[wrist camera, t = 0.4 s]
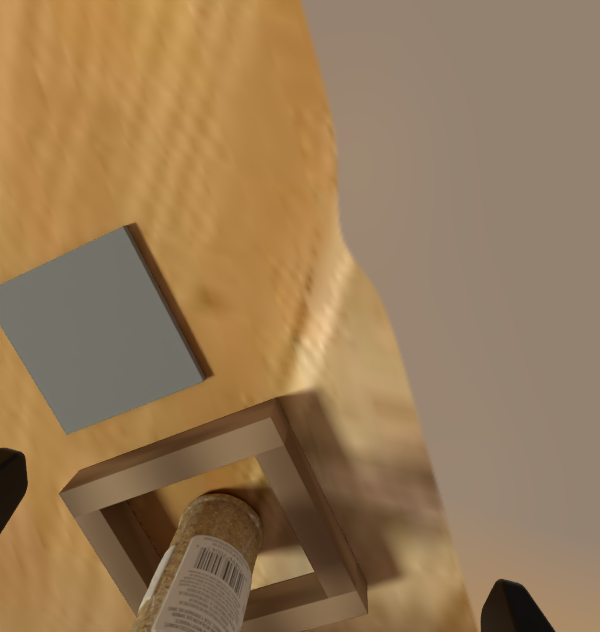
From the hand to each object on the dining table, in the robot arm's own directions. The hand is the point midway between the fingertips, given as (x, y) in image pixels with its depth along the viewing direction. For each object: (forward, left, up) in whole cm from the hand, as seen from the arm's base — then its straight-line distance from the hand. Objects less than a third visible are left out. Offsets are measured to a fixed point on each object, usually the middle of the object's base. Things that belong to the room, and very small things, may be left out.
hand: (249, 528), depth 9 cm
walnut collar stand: (-9, -9, -15) cm, 20 cm away
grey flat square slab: (-10, +3, -15) cm, 18 cm away
